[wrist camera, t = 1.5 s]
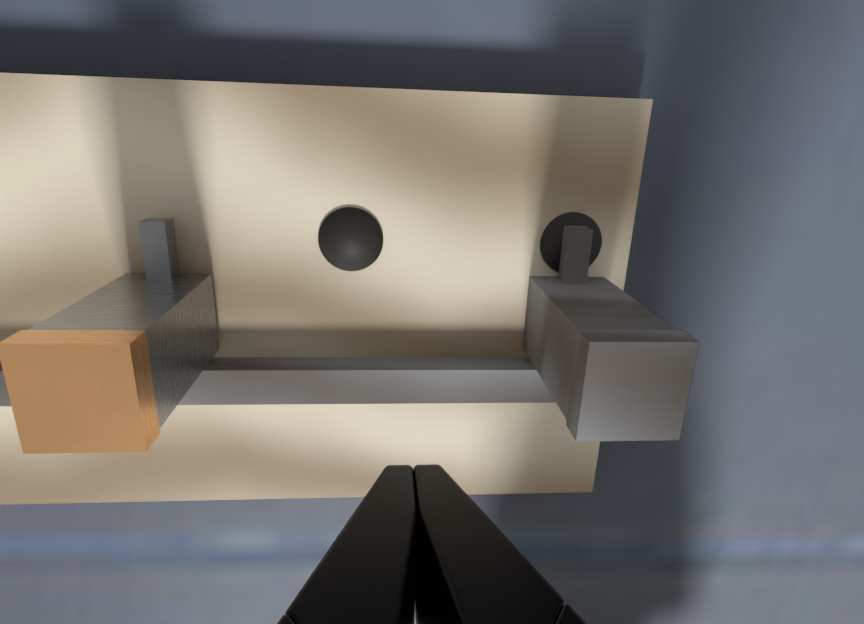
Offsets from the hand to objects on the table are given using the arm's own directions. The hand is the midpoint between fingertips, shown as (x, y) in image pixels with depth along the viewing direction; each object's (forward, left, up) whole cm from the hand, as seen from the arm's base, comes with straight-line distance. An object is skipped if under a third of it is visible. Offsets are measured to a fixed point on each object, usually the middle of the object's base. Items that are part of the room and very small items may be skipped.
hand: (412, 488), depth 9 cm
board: (-1, +5, -11) cm, 12 cm away
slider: (0, +7, -10) cm, 12 cm away
